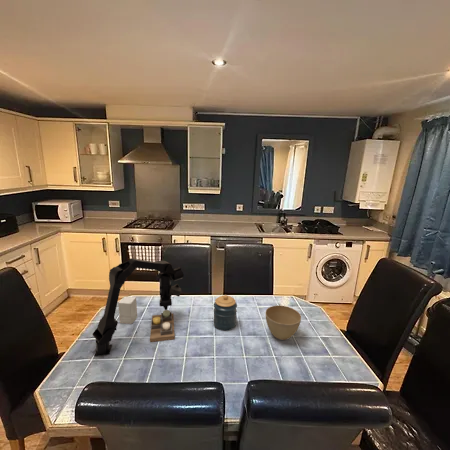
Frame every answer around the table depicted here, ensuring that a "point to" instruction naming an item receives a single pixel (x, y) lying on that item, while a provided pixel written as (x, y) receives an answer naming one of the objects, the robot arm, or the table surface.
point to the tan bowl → (282, 321)
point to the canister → (225, 313)
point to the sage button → (166, 313)
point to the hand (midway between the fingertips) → (166, 309)
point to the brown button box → (158, 331)
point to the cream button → (166, 326)
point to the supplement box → (127, 310)
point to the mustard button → (156, 320)
